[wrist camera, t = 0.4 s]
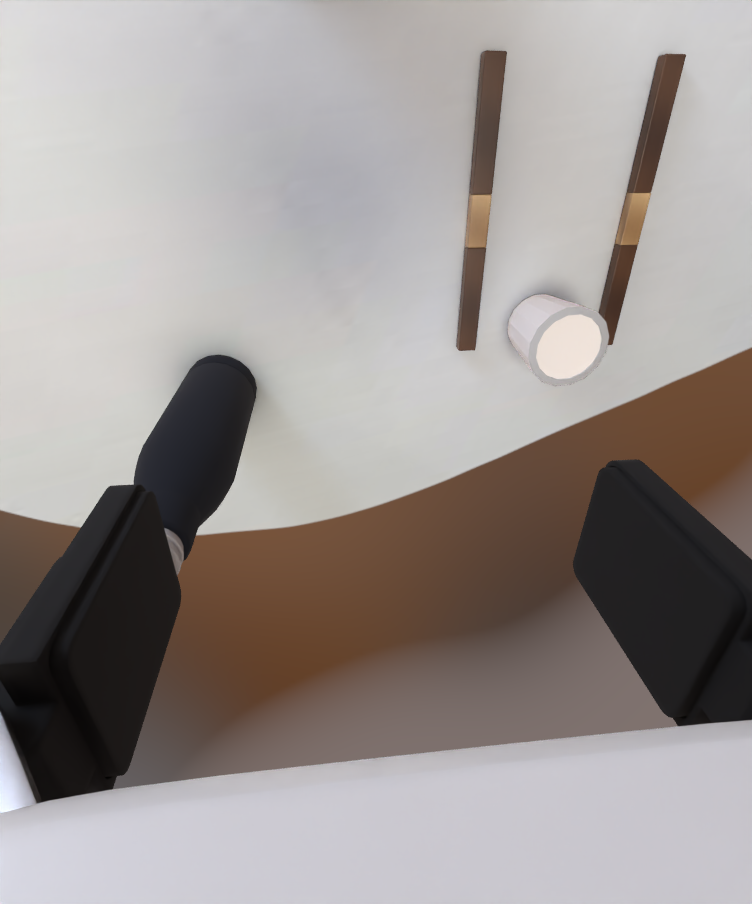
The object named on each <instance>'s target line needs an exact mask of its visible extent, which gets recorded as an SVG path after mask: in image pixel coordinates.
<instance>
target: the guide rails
mask: <svg viewBox="0 0 752 904" xmlns="http://www.w3.org/2000/svg"><path fill="white" fill-rule="evenodd" d="M506 54H507V52H506V51H485V52H483V53H482V54H481V65H480V77H479V89H478V100H477V112H476V124H475V136H474V147H473V159H472V171H471V183H470V195H469V207H468V218H467V230H466V242H465V246H466V247H465V253H464V265H463V276H462V288H461V300H460V312H459V323H458V335H457V349H458V350H459V351H465V350H475V347H476V338H477V328H478V319H479V310H480V300H481V291H482V281H483V272H484V262H485V253H486V248H485V247H486V243H487V233H488V224H489V215H490V205H491V194H492V187H493V177H494V168H495V158H496V149H497V139H498V130H499V121H500V111H501V102H502V92H503V83H504V73H505V64H506ZM685 57H686V55H685V54H665V55H662V56H659V57H658V61H657V66H656V70H655V74H654V78H653V83H652V87H651V91H650V96H649V100H648V104H647V109H646V113H645V117H644V121H643V126H642V130H641V134H640V139H639V143H638V147H637V152H636V156H635V160H634V164H633V169H632V173H631V177H630V182H629V186H628V190H627V194H626V198H625V202H624V207H623V211H622V215H621V220H620V224H619V228H618V232H617V237H616V241H615V246H614V250H613V254H612V259H611V263H610V267H609V272H608V276H607V280H606V285H605V289H604V293H603V297H602V302H601V306H600V310H599V314H600V315H601V317H602V318H603V319H604V320H605V321H606V324H607V328H608V333H609V340H608V345H612V344H613V340H614V336H615V332H616V328H617V324H618V320H619V316H620V312H621V308H622V304H623V301H624V297H625V293H626V289H627V285H628V281H629V277H630V273H631V269H632V265H633V261H634V257H635V253H636V250H637V245H638V242H639V238H640V234H641V230H642V226H643V223H644V219H645V215H646V211H647V207H648V203H649V199H650V195H651V193H650V192H651V190H652V186H653V183H654V179H655V175H656V171H657V167H658V163H659V159H660V155H661V151H662V147H663V143H664V139H665V135H666V132H667V128H668V124H669V120H670V116H671V112H672V108H673V104H674V100H675V96H676V92H677V88H678V85H679V81H680V77H681V73H682V69H683V65H684V61H685Z"/></svg>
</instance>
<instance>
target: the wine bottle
mask: <svg viewBox="0 0 752 904" xmlns="http://www.w3.org/2000/svg"><path fill="white" fill-rule="evenodd" d="M256 390H257V387H256V383H255V379H254V377H253V375H252V374H251V372H250V371H249V369H248V368H247V367H246V366H244V365H243V364H242V363H241V362H240V361H237V360H235V359H233V358H231V357H227V356H221V355H215V356H207V357H205V358H203V359H201V360H199V361H197V362H196V364H195V365H194V366H193V367H192V368H191V369H190V370H189V372H188V374H187V375H186V377H185V379H184V380H183V382H182V383H181V385H180V387H179V388H178V390H177V392H176V393H175V395H174V396H173V398H172V400H171V401H170V403H169V405H168V406H167V408H166V409H165V411H164V413H163V414H162V416H161V418H160V419H159V421H158V422H157V424H156V426H155V427H154V429H153V431H152V432H151V434H150V435H149V437H148V439H147V440H146V442H145V444H144V445H143V448H142V450H141V453H140V455H139V458H138V462H137V465H136V470H135V476H134V485H138V484H140V485H142V486H143V487H144V488H145V490H146V491H152V492H153V493H154V494H155V496H156V500H157V503H158V507H159V511H160V514H161V518H162V522H163V525H164V529H165V533H166V537H167V540H168V544H169V548H170V551H171V555H172V559H173V562H174V566H175V570H176V573H177V575H178V572H179V571H180V569H181V564H182V562H183V561H184V560H185V559H186V558H187V557H188V555H189V553H190V551H191V548H192V545H193V542H194V538H195V536H196V533H197V530H198V527H199V526H200V525H201V524H202V523H203V522H204V521H206V520H207V519H208V518H209V517H210V516H211V515H212V514H213V513H214V512H215V511H216V510H217V508H218V507H219V505H220V504H221V502H222V501H223V500H224V498H225V496H226V494H227V493H228V491H229V489H230V487H231V485H232V483H233V481H234V479H235V475H236V471H237V467H238V463H239V460H240V456H241V452H242V448H243V444H244V441H245V437H246V433H247V429H248V425H249V421H250V418H251V414H252V410H253V406H254V402H255V399H256Z"/></svg>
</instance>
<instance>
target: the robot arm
mask: <svg viewBox="0 0 752 904" xmlns="http://www.w3.org/2000/svg"><path fill="white" fill-rule="evenodd" d="M573 567H574V572H575V575H576V577H577V579H578V580H579V582H580V583H581V585H582V586H583V588H584V589H585V591H586V593H587V594H588V596H589V597H590V599H591V601H592V602H593V604H594V605H595V607H596V608H597V610H598V611H599V613H600V615H601V616H602V618H603V619H604V621H605V623H606V624H607V626H608V627H609V629H610V630H611V632H612V634H613V635H614V637H615V638H616V640H617V641H618V643H619V644H620V646H621V648H622V649H623V651H624V652H625V654H626V655H627V657H628V658H629V660H630V662H631V663H632V665H633V666H634V668H635V670H636V671H637V673H638V674H639V676H640V677H641V679H642V681H643V682H644V684H645V685H646V687H647V688H648V690H649V692H650V693H651V694H652V696H653V698H654V699H655V701H656V703H657V704H658V706H659V707H660V709H661V710H662V711H663V713H664V714H666V715H667V716H668V717H671V718H673V719H674V720H675V722H676V724H677V725H678V727H669V728H658V729H649V730H639V731H629V732H620V733H609V734H599V735H589V736H579V737H569V738H560V739H551V740H541V741H532V742H522V743H512V744H503V745H493V746H484V747H475V748H465V749H457V750H447V751H438V752H428V753H419V754H410V755H400V756H392V757H382V758H373V759H364V760H355V761H346V762H337V763H328V764H319V765H310V766H301V767H292V768H283V769H275V770H266V771H257V772H249V773H239V774H230V775H222V776H214V777H205V778H198V779H190V780H183V781H175V782H167V783H160V784H152V785H144V786H136V787H128V788H121V789H113V786H114V783H115V780H116V777H117V776H120V775H124V774H125V773H126V772H127V770H128V768H129V766H130V763H131V760H132V756H133V753H134V750H135V747H136V744H137V741H138V738H139V734H140V731H141V728H142V724H143V722H144V718H145V715H146V712H147V709H148V706H149V702H150V699H151V696H152V693H153V690H154V687H155V683H156V680H157V677H158V673H159V671H160V667H161V664H162V661H163V658H164V655H165V651H166V648H167V645H168V642H169V639H170V635H171V632H172V629H173V626H174V623H175V620H176V617H177V613H178V610H179V607H180V602H181V589H180V585H179V581H178V577H177V573H176V570H175V566H174V562H173V559H172V555H171V551H170V548H169V544H168V540H167V537H166V533H165V529H164V525H163V522H162V518H161V514H160V511H159V507H158V503H157V500H156V496H155V494H154V493H153V492H152V491H146V490H145V488H144V487H143V486H142V485H140V484H138V485H118V486H110V487H108V488H107V489H106V491H105V492H104V494H103V495H102V497H101V498H100V500H99V501H98V503H97V504H96V506H95V507H94V509H93V510H92V512H91V514H90V515H89V517H88V518H87V520H86V521H85V523H84V524H83V526H82V527H81V529H80V530H79V532H78V533H77V535H76V536H75V538H74V539H73V541H72V542H71V544H70V546H69V547H68V548H67V550H66V551H65V553H64V555H63V556H62V557H60V558H59V559H58V560H57V561H56V563H54V565H53V566H52V568H51V569H50V571H49V572H48V574H47V575H46V577H45V578H44V580H43V581H42V583H41V584H40V586H39V587H38V589H37V590H36V592H35V593H34V595H33V596H32V598H31V599H30V601H29V602H28V604H27V605H26V607H25V608H24V610H23V611H22V613H21V614H20V616H19V617H18V619H17V620H16V622H15V623H14V625H13V626H12V628H11V629H10V631H9V632H8V634H7V635H6V637H5V638H4V640H3V641H2V643H1V645H0V904H752V560H751V559H750V558H749V557H748V556H747V555H746V554H745V553H744V552H743V551H741V550H740V549H739V548H738V547H737V546H736V545H735V544H734V543H732V542H731V541H730V540H729V539H728V538H727V537H726V536H725V535H723V534H722V533H721V532H720V531H719V530H718V529H717V528H716V527H715V526H714V525H712V524H711V523H710V522H709V521H708V520H707V519H706V518H705V517H703V516H702V515H701V514H700V513H699V512H698V511H697V510H696V509H695V508H693V507H692V506H691V505H690V504H689V503H688V502H687V501H686V500H684V499H683V498H682V497H681V496H680V495H679V494H678V493H677V492H676V491H674V490H673V489H672V488H671V487H670V486H669V485H668V484H667V483H666V482H664V481H663V480H662V479H661V478H660V477H659V476H658V475H657V474H656V473H654V472H653V471H652V470H651V469H650V468H649V467H648V466H647V465H645V464H644V463H643V462H642V461H640V460H618V461H617V460H616V461H610V462H609V463H608V464H607V465H606V467H605V468H602V469H601V470H600V471H599V473H598V476H597V480H596V483H595V487H594V490H593V494H592V497H591V501H590V504H589V508H588V511H587V515H586V518H585V522H584V525H583V529H582V532H581V536H580V540H579V543H578V547H577V550H576V554H575V557H574V561H573ZM112 789H113V790H112Z"/></svg>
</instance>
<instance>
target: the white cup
mask: <svg viewBox="0 0 752 904" xmlns="http://www.w3.org/2000/svg"><path fill="white" fill-rule="evenodd" d="M507 333H508V336H509V339H510V342H511V343H512V345H513V346H514V348H515V349H516V350H517V352H518V353H519V354H520V356H521V357H522V359H523V360H524V361H525V363H526V364H527V366H528V367H529V368H530V370H531V371H532V373H534V374H535V375H536V376H537V377H538V378H539V379H540V380H541V381H542V382H544V383H547V384H550V385H553V386H561V385H571V384H573V383H575V382H577V381H579V380H581V379H583V378H585V377H586V376H588V375H589V374H590V373H591V372H592V371H593V370H594V369H595V368H596V367H597V366H598V365H599V363H600V361H601V360H602V358H603V356H604V355H605V353H606V350H607V345H608V340H609V333H608V328H607V324H606V321H605V320H604V319H603V318H602V317H601V315H600V314H599V313H598V312H597V311H595V310H592V309H590V308H587V307H584V306H581V305H578V304H575V303H572V302H569V301H566V300H563V299H559V298H556V297H553V296H550V295H547V294H540V295H533V296H531V297H529V298H527V299H525V300H523V301H522V302H521V303H520V304H519V305H518V306H517V307H516V308H515V309H514V310H513V312H512V315H511V317H510V319H509V321H508V332H507Z"/></svg>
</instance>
